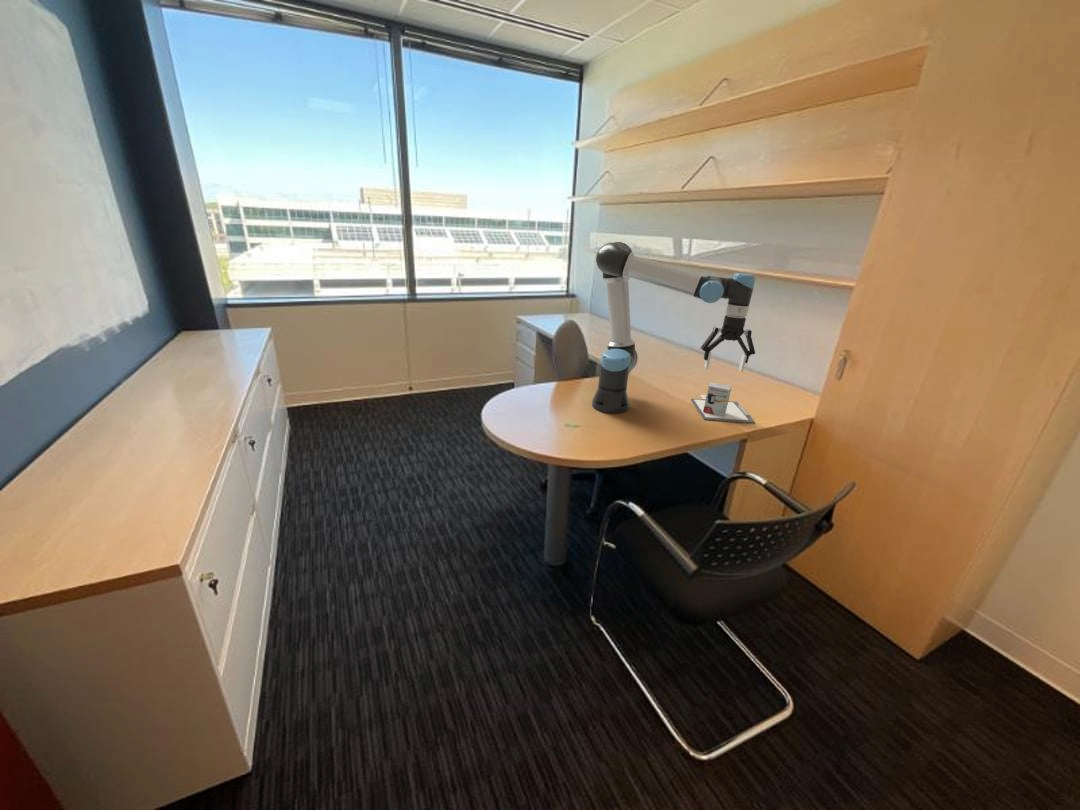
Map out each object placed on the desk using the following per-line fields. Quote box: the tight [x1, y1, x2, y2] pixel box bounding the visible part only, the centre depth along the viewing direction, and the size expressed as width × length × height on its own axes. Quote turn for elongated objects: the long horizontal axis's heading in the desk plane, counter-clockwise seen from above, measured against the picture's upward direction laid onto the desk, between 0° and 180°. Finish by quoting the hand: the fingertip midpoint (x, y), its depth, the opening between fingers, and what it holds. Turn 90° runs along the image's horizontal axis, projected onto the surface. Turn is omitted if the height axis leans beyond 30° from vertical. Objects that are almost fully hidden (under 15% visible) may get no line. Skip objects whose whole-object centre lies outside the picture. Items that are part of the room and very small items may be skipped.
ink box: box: [703, 382, 732, 416], centre depth 180 cm, size 9×5×12 cm, turn 63°
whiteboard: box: [690, 398, 756, 424], centre depth 186 cm, size 20×22×1 cm
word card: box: [700, 394, 707, 400], centre depth 200 cm, size 8×5×1 cm, turn 86°
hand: (723, 369), depth 175 cm, fingers open, 13 cm apart
